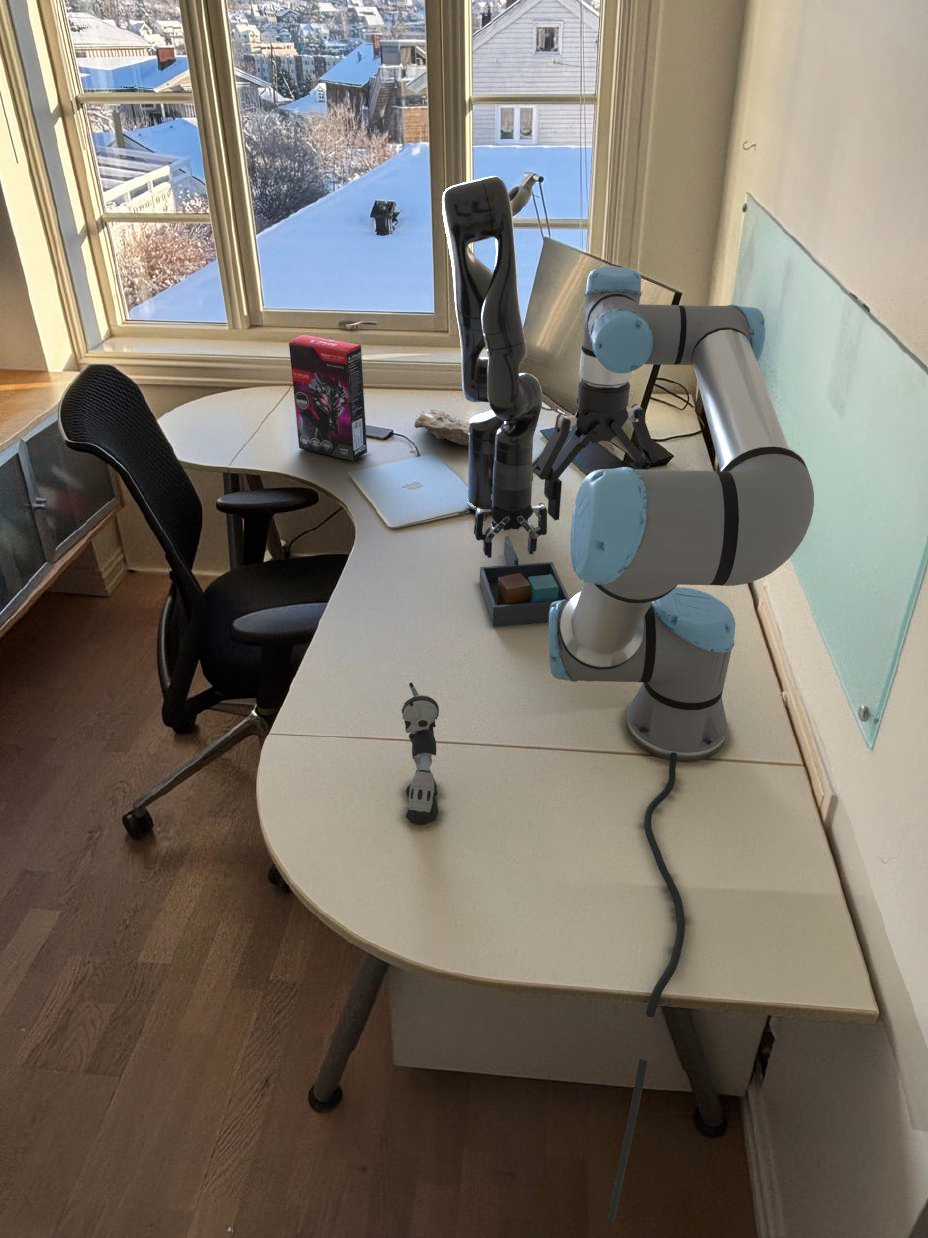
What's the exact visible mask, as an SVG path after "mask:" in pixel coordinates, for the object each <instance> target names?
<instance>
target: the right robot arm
mask: <svg viewBox="0 0 928 1238" xmlns="http://www.w3.org/2000/svg"><path fill="white" fill-rule="evenodd" d="M586 281H587V282H586V289H585V292H584V297H585V299H584V314H583V327H582V328H583V330H582V344H581V352H580V362H579V363H580V365H579V377H580V379H579V381H578V387H577V397H576V399H577V404H576V405H577V410H576V413H575V414H574V415H568V416H564V414H563V413H558V414H557V415H556V419H555V424H554V429H553V431H552V432H551V435H550V436H549V438H548V441H547V442H546V444H545V446H544V448H543V450H542V452H541V453H542V454H541V453H540V454H541V456H540V458H539V460H538V462H537V464H536V465H535V466H534V467H533V473H534V474H535V475H536V476H537V477H538V478H539V479H540V480H541V481H543V480H544V486H543V487H544V488H543V489H544V490H543V495H544V497H545V498H546V499H547V500H548V502H547V515H549V516H550V517H551V518H552V519H553V521H559V520H560V514H561V513H560V512H561V501H562V499H561V498H562V485H563V481H562V480H561V479H560V477H561V476H562V474H563V473H564V472H565V471H566V470H567V469H568V467H570V465H571V463H572V462H573V461H574V460H575V459H576V457H577V456H578V455H579V453H581V450H583V449H586V448H587V447H588V445H589V444H590V443H592V444H596V443H597V444H598V443H600V442H612V439H614V438H615V439H616V441H617V442H618V443H619V444H620V446H621V447H622V448H623V449H624V450H625V452H626V454H627V455H628V456H629V457H630V458H631V460H632V461H633V462H629V463H628V466H618V467H616V468H600V469H596V470H592V471H591V472H589V473H588V474H587V475H586V476H585V477H584V478H583V480H582V482H581V484H580V486H579V488H578V491H577V494H576V498H575V502H574V505H575V506H574V507H575V508H574V511H573V512H572V516H571V517H572V518H571V528H570V542H569V543H570V545H569V546H570V559H571V560H570V561H571V565H572V568H573V571H574V573H575V575H576V577H577V579H579V580H580V581H583V584H582V587H581V589H580V591H579V592H578V593H576V594H574V595H573V597H571V598H569V599H570V600H565V599H564V600H562V601H555V602H553V603H552V604H551V605H550V612H549V622H548V654H549V669H550V673H551V675H552V676H553V677H554V679H556V680H560V681H561V680H563V681H569V682H571V683H576V682H611V683H612V682H613V683H615V682H616V683H642V684H641V685H640V688H639V689H638V691H637V692H636V694H635V695H634V697H633V699H632V701H631V702H630V704H629V705H628V707H627V711H626V719H625V728H626V732H627V734H628V736H629V738H630V739H631V741H632V742H634V744H636V745H637V746H638V747H639V748H640V749H641V750H643V751H645V752H646V753H648V754H650V755H651V756H654V757H656V758H659V759H662V760H666V761H669V765H668V779H667V782H666V784H665V787H663V789H662V791H661V792H659V793H658V794H657V795H656V796H655V798H653V800H651V802H649V804H648V806H647V808H646V810H645V813H644V817H643V818H644V820H643V828H644V832H645V836H646V840H647V842H648V845H649V848H650V850H651V852H652V855H653V858H654V860H655V863H656V865H657V868H658V870H659V873H660V875H661V876H662V878H663V881H664V882H665V884H666V886H667V888H668V890H669V892H670V894H671V895H670V896H671V898H672V900H673V903H674V904H673V905H674V909H675V918H676V933H675V941H674V946H673V949H672V953H671V955H670V959H669V961H668V964H667V966H666V967H665V970H664V971H663V973H662V974H661V976H659V979H658V980H657V982H656V984H655V985H654V987H653V990H652V992H651V994H650V997H649V1000H648V1002H647V1006H646V1009H645V1014H646V1016H647V1017H648V1018H653V1017H654V1016H655V1014H656V1011H657V1007H658V1004H659V1001H660V999H661V996H662V994H663V992H664V990H665V988H666V986H667V985H668V983H669V981H670V980H671V979H672V977H673V975H674V973H675V972H676V970H677V968H678V965H679V961H680V959H681V953H682V950H683V946H684V939H685V934H686V919H685V917H686V916H685V910H684V905H683V900H682V897H681V894H680V891H679V889H678V887H677V885H676V882H675V881H674V879H673V878H672V875H671V874H670V872H669V870H668V868H667V866H666V863H665V860H664V858H663V855H662V853H661V850H660V847H659V845H658V842H657V839H656V838H655V835H654V832H653V827H652V817H653V814H654V812H655V810H656V809H657V807H659V805H660V804H661V803H662V802H663V801H664V800H665V799H666V798H667V797H668V796H669V795H670V793H671V792H672V791H673V789H674V786H675V783H676V776H677V772H676V771H677V763H694V762H700V761H703V760H706V759H709V758H711V757H714V755H716V754H718V752H720V751H721V750H722V748H723V747H724V744H725V743H726V740H727V739H726V738H727V734H728V721H727V716H726V712H725V708H724V707H725V706H724V701H723V692H724V686H725V682H726V678H727V672H728V668H729V664H730V659H731V654H732V651H733V649H734V646H735V632H736V620H735V617H734V614H733V612H732V611H731V609H730V608H729V607H728V606H727V605H726V604H725V603H724V602H723V601H722V600H720V599H718V598H717V597H715V596H713V595H711V594H710V593H708V592H705V591H702V590H699V589H695V588H690V587H683V586H682V585H684V586H719V587H720V586H721V587H735V586H741V585H746V584H750V583H753V582H757V581H758V580H760V579H763V578H765V577H768V576H769V575H771V574H772V573H773V572H775V571H776V570H778V569H779V568H780V567H781V566H782V565H784V564H785V563H787V561H788V560H789V559H790V558H791V557H792V556H793V555H794V553H795V552H796V551H797V550H798V548H799V547H800V545H801V543H802V542H803V540H804V539H805V537H806V534H807V533H808V529H809V528H810V525H811V522H812V518H813V513H814V507H815V492H814V491H815V490H814V485H813V481H812V478H811V475H810V471H809V469H808V467H807V464H806V462H805V461H804V459H803V457H802V456H801V455H800V454H799V453H797V451H795V450H793V449H792V448H789V445H788V443H787V439H786V437H785V434H784V432H783V429H782V426H781V423H780V420H779V417H778V416H777V412H776V410H775V407H774V404H773V401H772V399H771V396H770V394H769V390H768V388H767V385H766V383H765V380H764V377H763V375H762V372H761V369H760V366H759V363H758V361H760V358H761V356H762V353H763V350H764V347H765V341H766V327H765V321H766V319H765V316H764V314H763V312H762V311H761V310H760V309H759V308H757V307H753V306H740V305H737V304H728V305H727V304H726V305H686V304H685V305H681V304H679V305H678V304H644V303H643V304H640V303H641V302H640V300H641V297H642V294H643V293H642V276H641V274H640V272H638V271H637V270H635V269H632V268H627V267H623V266H603V267H597V268H594V269H593V270H591V271H590V272H589V274H588V276H587V280H586ZM644 365H656V366H657V365H658V366H662V365H664V366H692V367H693V370H694V375H695V378H696V381H697V382H696V383H697V386H698V390H699V394H700V397H701V398H700V399H701V401H702V405H703V409H704V414H705V417H706V422H707V424H708V430H709V432H710V436H711V440H712V444H713V448H714V452H715V456H716V460H717V463H718V468H719V470H689V469H686V470H685V469H683V470H682V469H681V470H680V469H650V468H651V464H652V463H653V464H655V463H657V462H658V461H659V455H658V453H657V451H656V448H655V445H654V442H653V440H652V437H651V433H650V431H649V428H648V426H647V423H646V414H647V411H646V410H645V409H644V408H643V407H641V406H640V405H638V404H637V403H633V404H632V405H631V406H630V407H629V408H628V406H629V401H630V392H631V391H630V390H631V383H630V381H631V380H632V375H633V372H635V371H636V370H638V369H640V368H641V367H642V366H644ZM628 420H629V421H630V422H631V425H632V428H633V430H634V432H635V435H636V438H637V440H638V443H639V445H640V446H639V447H640V448H641V451H642V453H641V452H640V451H639V450H638V448H637V447H636V445H635V444H634V443H633V442H632V441H631V439H630V438H629V436H628V434H627V433H626V432H625V430H623V426H624V425H625V424H626V422H627V421H628ZM574 426H576V428H575V429H574V430H573V428H574ZM570 432H572V433H571V434H570V438H569V440H568V441H567V439H568V437H569V433H570ZM581 437H582V438H581ZM566 441H567V442H566ZM678 585H679V586H678ZM680 585H681V586H682V587H681V586H680ZM647 1067H648V1060H645V1059H641V1058H639V1059H638V1064H637V1069H636V1075H635V1080H634V1085H633V1091H632V1097H631V1101H630V1105H629V1112H628V1117H627V1121H626V1127H625V1130H624V1136H623V1142H622V1145H621V1150H620V1156H619V1161H618V1166H617V1170H616V1175H615V1180H614V1185H613V1189H612V1194H611V1200H610V1205H609V1210H608V1213H607V1214H608V1216H607V1219H608V1220H609V1221H610V1222H614V1221H615V1220H616V1217H617V1211H618V1206H619V1201H620V1196H621V1193H622V1188H623V1184H624V1179H625V1173H626V1168H627V1164H628V1159H629V1155H630V1150H631V1145H632V1142H633V1136H634V1132H635V1127H636V1122H637V1117H638V1112H639V1107H640V1104H641V1098H642V1093H643V1090H644V1089H643V1088H644V1083H645V1079H646V1072H647Z"/></svg>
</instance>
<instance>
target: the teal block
mask: <svg viewBox="0 0 928 1238" xmlns="http://www.w3.org/2000/svg"><path fill="white" fill-rule="evenodd" d="M528 583H529V584H530V602H529V603H535V602H547V601H557V600H558V585H557V583H556V582H555V580H554V578H553V576H552V574H551V575H541V576H531V577H528Z"/></svg>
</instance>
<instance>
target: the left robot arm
mask: <svg viewBox="0 0 928 1238" xmlns="http://www.w3.org/2000/svg"><path fill="white" fill-rule="evenodd" d="M442 194H443V195H442V201H441V203H442V216H443V223H444V228H445V234H446V237H447V238H446V239H447V244H448V245H447V246H448V250H449V256H450V261H451V268H452V269H451V270H452V280H453V294H454V295H453V296H454V297H453V298H454V306H455V316H456V322H457V328H458V335H459V343H460V364H461V365H460V367H461V368H460V369H461V387H462V393H463V396H464V398H465V399H466V400H467V401H468V402H470V403H471V402H472V403H479V404H488V405H489V407H490V410H486V411H484V412H480V413H477V414H475V415H473V416H472V417H471V418H470V419H469V421H468V422H469V445H468V454H467V455H468V458H467V459H468V460H467V461H468V462H467V467H468V468H467V470H468V471H467V500H468V501H469V502H470V503H472V504H473V505H474V506H476V508H473V507H471V506H470V505H469V504H468V502H467V507H468V509H470V510H471V511H473V512H474V525H473V534H474V537H475V540H476V541H482V552H483V554H484V556H485V557H486V558H487V559H491V558H492V555H493V541H492V540H493V539H494V537H495V536H497V535H499V533H500V532H501V530H503V531H510V530H520V529H521V528H523V530H525V531H526V533H528V534H527V553H528V554H529V556H530V555H531V556H533V555H534V553H535V552H537V549H538V548H537V547H538V538H539V537H540V536H546V535H547V534H548V508H547V507H546V506H545V503H544V502H539V503H538V505H532V494H533V493H532V492H533V480H534V475H533V473H534V471H533V470H534V467H535V466H536V464H537V462H538V460H539V458H540V456H541V454H542V452H541V453H540V454H539V455H538V456H537V457H536V458H535V459H534V460H533V451H534V450H533V448H534V436H535V432H536V429H537V427H538V422H539V419H540V414H541V410H542V405H543V389H542V386H541V383H540V381H539V380H538V378H537V377H536V376H534V375H533V374H531V373H529V372H520V366H521V364H522V362H523V361H524V360H525V358H526V357H527V354H528V348H527V347H528V346H527V341H526V337H525V330H524V325H523V320H522V313H521V306H520V301H519V299H520V298H519V286H518V268H517V254H516V253H517V252H516V243H515V232H514V231H515V230H514V229H515V228H514V217H513V209H512V203H511V198H510V194H509V192H508V189H507V186H506V184H505V182H504V180H503V179H502V178H501V177H499V176H497V175H492V176H488V177H482V178H479V179H474V180H471V181H466V182H462V183H458V184H454V185H452V186H450V187H448V188H446V189H445V191H444V192H443V193H442ZM490 239H495V249H496V250H495V251H496V253H495V254H496V255H495V263H494V268H493V270H491V269H490V268H489V267H488V266H486V265H485V264H484V263H483V262H482V261H480V259H479V258H478V257H476V255H475V254H474V253H473V251H472V249H471V248H470V246H469V245H470V244H473V243H478V242H481V241H485V240H486V241H487V240H490ZM484 349H486V353H487V356H480V355H481V353H482V352H483V350H484ZM533 514H535V516H536V517H537V525H538V526H536V527H534V526H533V524H531V522H530V521H529V519H530V518H531V517H532V515H533ZM489 517H490V518H491V521H490V522H489V523H488V526H487V527H486V529H485V530H484V522H486V521H487V519H488V518H489Z"/></svg>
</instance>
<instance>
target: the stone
mask: <svg viewBox="0 0 928 1238" xmlns="http://www.w3.org/2000/svg"><path fill="white" fill-rule="evenodd" d="M414 420H415V422H414V424H413V425H414V428H416V429H419V428H420V429H421V428H422V429H423V428H424V429H425V430H426V431H427V432H428V433H430V434H433V435H435V438H436V439H438V440H445V439H446V440H448V441H450V442H452V443H457V444H459V445H462V446H466V447H469V421H464V420H460V419H458V418H457V417H452V416H451V415H450V414H449V413H446V412H445V411H442V410H437V409H429V410H422V411H421V412H420V413H419V415H416V417H415V418H414Z"/></svg>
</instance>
